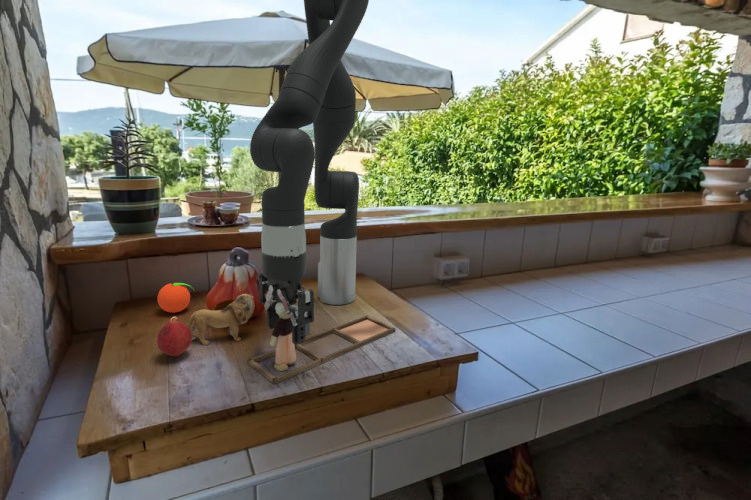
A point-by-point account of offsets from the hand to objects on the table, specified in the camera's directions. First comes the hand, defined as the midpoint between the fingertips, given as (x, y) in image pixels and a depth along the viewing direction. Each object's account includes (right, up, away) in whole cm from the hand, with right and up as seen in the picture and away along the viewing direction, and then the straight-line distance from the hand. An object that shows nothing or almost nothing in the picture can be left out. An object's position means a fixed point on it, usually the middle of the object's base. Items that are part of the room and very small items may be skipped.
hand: (285, 334), depth 75 cm
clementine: (-30, +1, +22) cm, 37 cm away
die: (-1, -2, +13) cm, 14 cm away
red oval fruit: (-21, -5, +2) cm, 22 cm away
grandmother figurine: (0, -6, +2) cm, 6 cm away
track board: (+7, -4, +8) cm, 12 cm away
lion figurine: (-16, -3, +10) cm, 19 cm away
